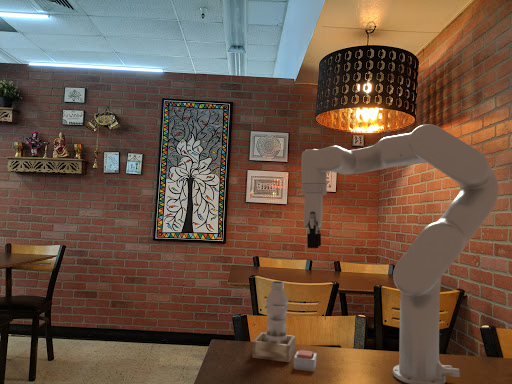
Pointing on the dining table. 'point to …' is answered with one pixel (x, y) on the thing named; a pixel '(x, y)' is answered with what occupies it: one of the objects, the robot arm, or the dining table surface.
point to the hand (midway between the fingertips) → (314, 247)
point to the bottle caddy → (273, 349)
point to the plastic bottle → (276, 314)
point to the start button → (305, 354)
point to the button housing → (305, 363)
